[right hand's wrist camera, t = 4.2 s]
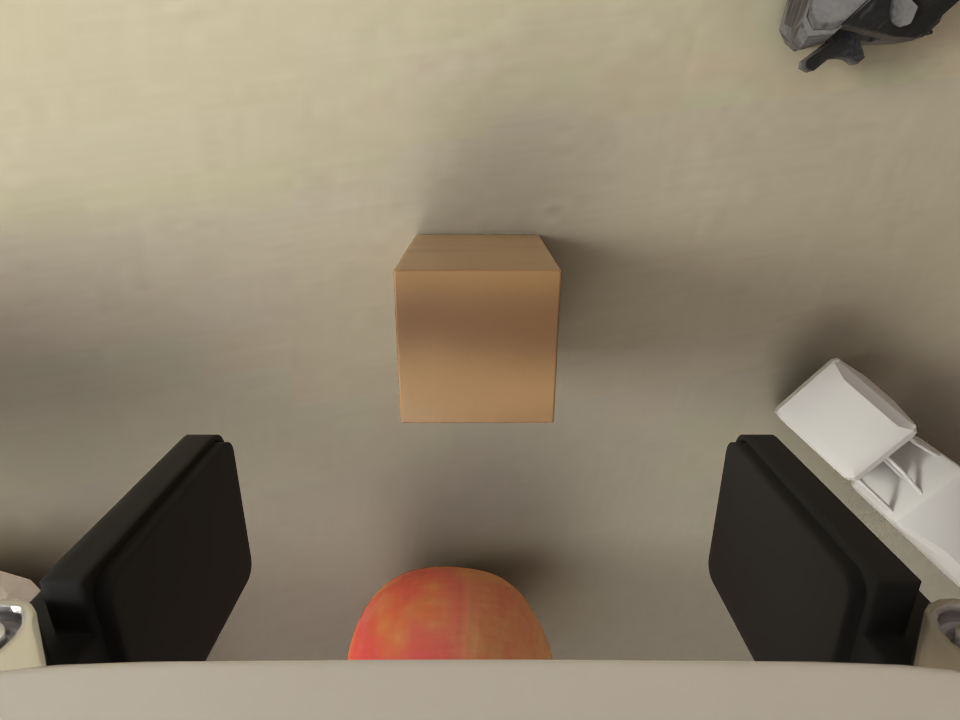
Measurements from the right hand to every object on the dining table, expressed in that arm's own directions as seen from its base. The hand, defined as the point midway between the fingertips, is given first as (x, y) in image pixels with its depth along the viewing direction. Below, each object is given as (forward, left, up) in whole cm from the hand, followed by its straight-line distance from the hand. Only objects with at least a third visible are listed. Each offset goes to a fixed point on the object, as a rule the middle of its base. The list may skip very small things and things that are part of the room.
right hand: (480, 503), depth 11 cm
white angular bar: (-5, -24, -16) cm, 29 cm away
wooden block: (0, 0, -16) cm, 16 cm away
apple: (-17, -3, -16) cm, 23 cm away
